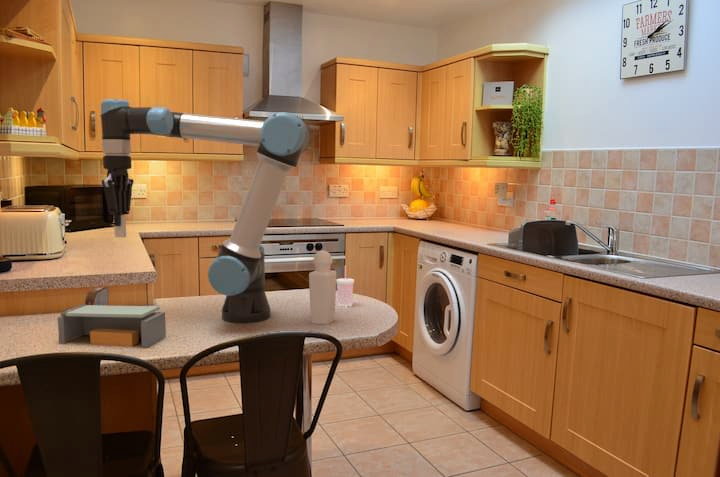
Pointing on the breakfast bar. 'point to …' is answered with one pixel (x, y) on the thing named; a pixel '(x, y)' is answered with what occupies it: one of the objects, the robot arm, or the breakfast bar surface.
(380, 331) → the breakfast bar surface
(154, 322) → the grey u-shaped bracket
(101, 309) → the cover
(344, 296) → the beverage cup
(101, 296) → the tin
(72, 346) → the breakfast bar surface
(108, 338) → the orange block
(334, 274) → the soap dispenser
